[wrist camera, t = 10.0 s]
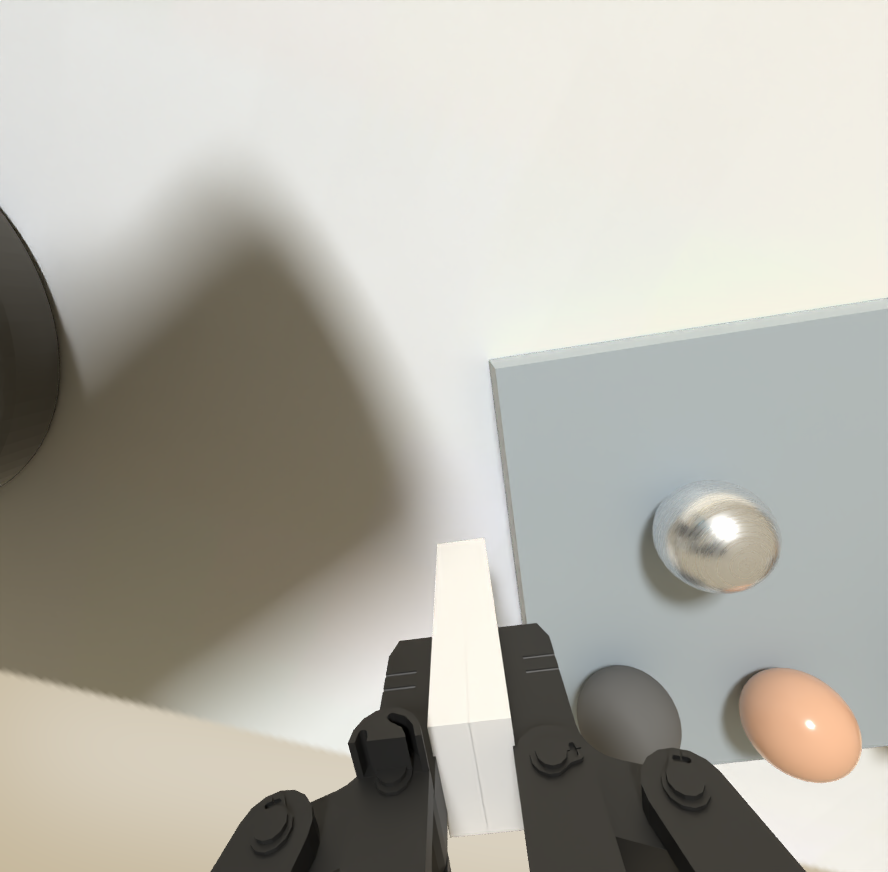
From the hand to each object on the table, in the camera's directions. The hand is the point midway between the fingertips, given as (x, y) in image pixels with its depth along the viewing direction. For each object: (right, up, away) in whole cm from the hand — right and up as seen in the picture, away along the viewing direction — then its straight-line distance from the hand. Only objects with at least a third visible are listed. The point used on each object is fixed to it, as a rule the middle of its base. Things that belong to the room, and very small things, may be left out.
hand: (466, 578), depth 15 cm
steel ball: (+8, +1, 0) cm, 8 cm away
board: (+14, +1, +4) cm, 15 cm away
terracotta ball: (+12, -6, +2) cm, 13 cm away
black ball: (+6, -6, +2) cm, 8 cm away
